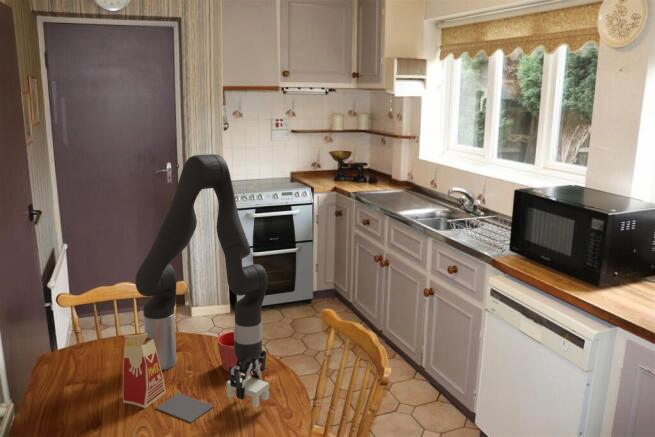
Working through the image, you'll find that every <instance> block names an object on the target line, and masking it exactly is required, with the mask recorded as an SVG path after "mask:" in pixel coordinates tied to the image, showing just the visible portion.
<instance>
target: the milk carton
mask: <svg viewBox="0 0 655 437" xmlns="http://www.w3.org/2000/svg"><path fill="white" fill-rule="evenodd" d="M147 335H148V333H146V334H145V333H142V334H137V335H124V337H125V338H126V340H125V345H124V352H123V366H122V368H123V369H122V371H123V372H122V403H123V404H128V405H129V404H130V405H134V406H138V407H141V408H144V409H146V408H148V407H149V406H150V405H152V404H153V403H154V402H156V401H157V400H158V399H160V397H162V396H164V395H165V394H166V393H167V390H166V385H165V380H164V375H163V370H161V366H160V362H159V358H158V354H157V351H156V347H155V343H154V340H153V338H147Z"/></svg>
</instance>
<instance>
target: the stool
mask: <svg viewBox="0 0 655 437" xmlns="http://www.w3.org/2000/svg"><path fill="white" fill-rule="evenodd" d="M240 374H241V375H245V374H244V373H241V372H240ZM240 382H242V378H240ZM244 387H245V396H249V397H251V407H253V408H258V407H259V406H260V396H261V399H262V400H264V401H267V400H269V398H270V382H268V381H264V380H261V379H260V380H259V379H256V378H253V377H251V375H249V377H248V379H246V382H245V386H244ZM235 391H236V388H235V387H232V386H231V385H230V379H229V380H228V381H226V392H227V393H226V397H227V398H229V399H232V398H234V397H235Z"/></svg>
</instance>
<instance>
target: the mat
mask: <svg viewBox="0 0 655 437" xmlns="http://www.w3.org/2000/svg"><path fill="white" fill-rule="evenodd" d="M214 407H215V406H214V405H212V404H210V403H208V402H204V401H202V400H199V399H196V398H193V397H191V396H188V395H185V394H183V393H179V392H178V393H176V394H175V395H173V396H172V397H169V399H167V400H165V401H164V402H161V404H158V405H157V406H156V407H154V408H155V409H156V410H157V411H160V412H162V413H164V414H167V415H170V416H172V417H175V418H177V419H180V420H181V421H184V422H187V423H190V424H192V423H193V422H196V420H198V419H199V418H200V417H202V416H203V415H205V414H206V413H208V412H209V411H210V410H212V409H213V408H214Z"/></svg>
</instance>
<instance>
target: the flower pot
mask: <svg viewBox="0 0 655 437" xmlns="http://www.w3.org/2000/svg"><path fill="white" fill-rule="evenodd" d="M216 340H217V341H216V342H217V347H218V352H219V357H220V360H221V364H222V368H223V369H224V371H225V372H228V373H229V368H230V367H234V366H236V362H237V357H236V355H235V353H234V331H229V332H226V333H223V334H221V335H219V336H218V338H217V339H216Z"/></svg>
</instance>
